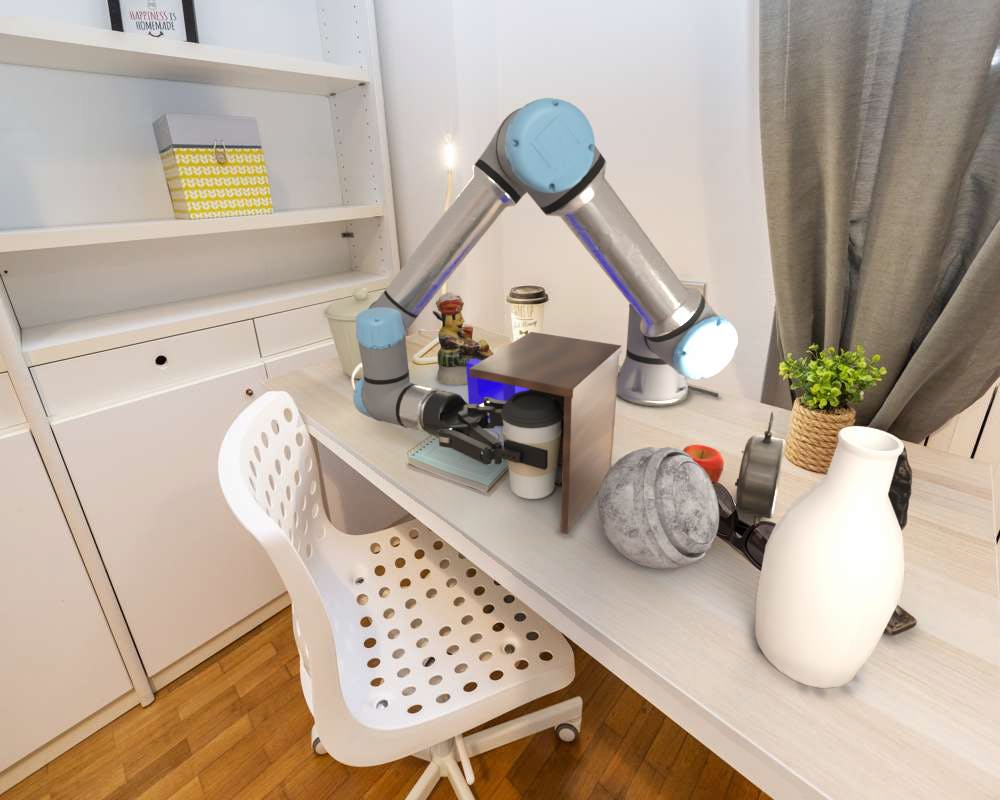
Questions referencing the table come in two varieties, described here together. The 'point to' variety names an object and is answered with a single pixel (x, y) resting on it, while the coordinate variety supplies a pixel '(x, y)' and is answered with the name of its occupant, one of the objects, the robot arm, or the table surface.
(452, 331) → the figurine
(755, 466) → the alarm clock
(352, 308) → the canister
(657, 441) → the table surface
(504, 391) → the blue hollow box
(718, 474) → the apple
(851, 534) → the bottle
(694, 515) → the decorative orb
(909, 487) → the statue
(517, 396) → the coffee cup
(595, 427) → the cubby
